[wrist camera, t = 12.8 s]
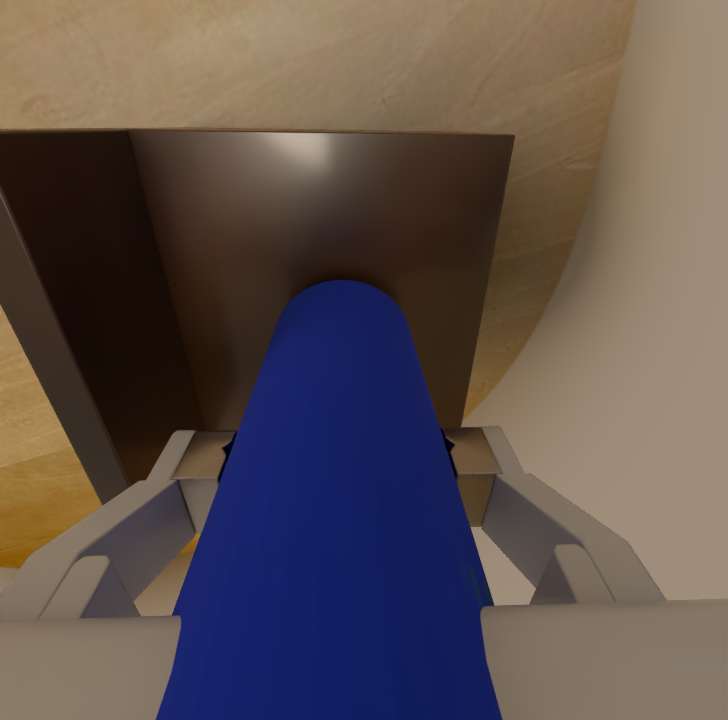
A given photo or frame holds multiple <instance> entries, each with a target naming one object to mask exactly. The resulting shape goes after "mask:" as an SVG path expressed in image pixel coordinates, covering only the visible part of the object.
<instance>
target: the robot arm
mask: <svg viewBox="0 0 728 720" xmlns="http://www.w3.org/2000/svg"><path fill="white" fill-rule="evenodd" d="M440 430H441V433H442V436H443V439H444V443H445V446H446V449H447V452H448V456H449V459H450V462H451V465H452V469H453V472H454V475H455V479H456V482H457V485H458V488H459V492H460V495H461V498H462V501H463V505H464V508H465V511H466V514H467V518H468V521H469V524H470V527H482V530H483V531H484V532H485V533H486V534H487V535H488V536H489V537H490V538H491V539H492V541H493V542H494V543H495V544H496V545H497V546H498V547H499V548H500V549H501V551H503V553H504V554H505V555H506V556H507V557H508V558H509V559H510V560H511V561H512V563H514V565H515V566H516V567H517V568H518V569H519V570H520V571H521V572H522V573H523V575H524V576H525V577H526V578H527V579H528V580H529V581H530V582H531V583H532V584H533V586H534V587H535V588H536V591H535V593H534V595H533V597H532V600H531V602H530V604H529V605H505V606H484V607H483V608H482V610H481V616H480V619H481V626H482V633H483V640H484V647H485V654H486V661H487V664H488V668H489V672H490V675H491V679H492V683H493V687H494V690H495V694H496V698H497V701H498V705H499V709H500V712H501V716H502V720H728V599H703V600H671V601H667V600H666V598H665V597H664V595H663V594H662V592H661V591H660V589H659V588H658V586H657V585H656V583H655V582H654V580H653V579H652V577H651V576H650V574H649V573H648V571H647V570H646V568H645V567H644V565H643V564H642V562H641V561H640V559H639V558H638V556H637V555H636V554H635V552H634V551H633V549H632V547H631V546H630V544H629V543H628V542H627V541H626V540H625V539H623V538H622V537H620V536H619V535H617V534H616V533H615V532H613V531H612V530H610V529H609V528H608V527H606V526H605V525H603V524H602V523H600V522H599V521H597V520H596V519H595V518H593V517H592V516H591V515H589V514H588V513H586V512H585V511H583V510H582V509H580V508H579V507H578V506H576V505H575V504H573V503H572V502H571V501H569V500H568V499H566V498H565V497H563V496H562V495H561V494H559V493H558V492H556V491H555V490H553V489H552V488H551V487H549V486H548V485H546V484H545V483H544V482H542V481H541V480H539V479H538V478H536V477H535V476H534V475H532V474H525V473H524V471H523V469H522V467H521V465H520V463H519V461H518V459H517V457H516V455H515V453H514V451H513V449H512V447H511V446H510V444H509V442H508V440H507V438H506V436H505V434H504V432H503V430H502V428H500V427H499V426H484V427H453V428H440ZM237 433H238V431H237V430H198V431H196V430H177V431H176V432H175V433H173V434H172V436H171V438H170V439H169V441H168V443H167V445H166V446H165V448H164V450H163V451H162V453H161V455H160V457H159V458H158V460H157V462H156V464H155V465H154V467H153V469H152V471H151V472H150V474H149V476H148V478H147V479H146V480H144V481H138V482H137V483H135V484H134V485H132V486H131V487H129V488H128V489H126V490H125V491H123V492H122V493H120V494H119V495H118V496H116V497H115V498H113V499H112V500H110V501H109V502H107V503H106V504H104V505H103V506H101V507H100V508H98V509H97V510H95V511H94V512H93V513H91V514H90V515H88V516H87V517H85V518H84V519H82V520H81V521H79V522H78V523H76V524H75V525H73V526H72V527H70V528H69V529H68V530H66V531H65V532H63V533H62V534H60V535H59V536H57V537H56V538H54V539H53V540H51V541H50V542H48V543H47V544H45V545H44V546H42V547H41V548H40V549H38V550H37V551H35V552H34V553H32V554H31V555H29V557H28V558H27V559H26V561H25V562H24V563H23V565H22V566H21V567H20V569H19V570H18V572H17V573H16V574H15V576H14V577H13V578H12V580H11V581H10V582H9V584H8V585H7V586H6V588H5V589H4V590H3V592H2V593H1V594H0V720H156V717H157V714H158V711H159V708H160V705H161V702H162V699H163V696H164V693H165V690H166V687H167V684H168V681H169V678H170V675H171V672H172V667H173V662H174V658H175V653H176V648H177V643H178V639H179V634H180V629H181V617H180V616H179V615H176V616H143V617H141V615H140V614H139V612H138V610H137V608H136V606H135V605H134V603H133V602H134V600H135V599H136V598H137V597H138V596H139V595H140V594H141V593H142V592H143V591H144V590H145V589H146V588H147V587H148V585H149V584H150V583H151V582H152V581H153V580H154V579H155V578H156V577H157V576H158V575H159V574H160V573H161V572H162V571H163V569H164V568H165V567H166V566H167V565H168V564H169V563H170V562H171V561H172V560H173V559H174V558H175V557H176V556H177V555H178V554H179V552H180V551H181V550H182V549H183V548H184V547H185V546H186V545H187V544H188V543H189V542H190V541H191V540H192V539H193V538H194V536H195V533H202V530H203V527H204V524H205V522H206V519H207V516H208V513H209V511H210V508H211V505H212V502H213V499H214V497H215V494H216V491H217V488H218V485H219V483H220V480H221V477H222V474H223V472H224V469H225V466H226V463H227V460H228V458H229V455H230V452H231V449H232V447H233V444H234V441H235V438H236V435H237Z"/></svg>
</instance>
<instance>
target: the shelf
mask: <svg viewBox="0 0 728 720" xmlns="http://www.w3.org/2000/svg"><path fill="white" fill-rule="evenodd" d="M514 140H515V135H512V134H492V133H472V132H442V131H376V130H310V129H244V128H65V129H0V305H1V307H2V308H3V310H4V312H5V314H6V316H7V318H8V320H9V322H10V324H11V326H12V328H13V330H14V332H15V334H16V336H17V338H18V340H19V342H20V344H21V346H22V348H23V350H24V352H25V354H26V356H27V358H28V360H29V362H30V364H31V366H32V368H33V370H34V372H35V374H36V376H37V378H38V379H39V381H40V383H41V385H42V387H43V389H44V391H45V393H46V395H47V397H48V399H49V401H50V403H51V405H52V407H53V409H54V411H55V413H56V415H57V417H58V419H59V421H60V423H61V425H62V427H63V429H64V431H65V433H66V435H67V437H68V439H69V441H70V443H71V445H72V447H73V449H74V450H75V452H76V454H77V456H78V458H79V460H80V462H81V464H82V466H83V468H84V470H85V472H86V474H87V476H88V478H89V480H90V482H91V484H92V486H93V488H94V490H95V492H96V494H97V496H98V498H99V500H100V502H101V504H102V506H103V505H104V504H106V503H107V502H109V501H110V500H112V499H113V498H115V497H116V496H118V495H119V494H120V493H122V492H123V491H125V490H126V489H128V488H129V487H131V486H132V485H134V484H135V483H137V482H138V481H144V480H146V479H147V478H148V476H149V474H150V472H151V471H152V469H153V467H154V465H155V464H156V462H157V460H158V458H159V457H160V455H161V453H162V451H163V450H164V448H165V446H166V445H167V443H168V441H169V439H170V438H171V436H172V434H173V433H175V432H176V431H177V430H196V431H198V430H237V431H238V430H239V427H240V424H241V421H242V419H243V416H244V413H245V410H246V408H247V405H248V402H249V399H250V396H251V394H252V391H253V388H254V385H255V383H256V380H257V377H258V374H259V371H260V369H261V366H262V363H263V360H264V357H265V355H266V352H267V349H268V346H269V344H270V341H271V338H272V335H273V332H274V330H275V327H276V324H277V321H278V319H279V317H280V315H281V313H282V311H283V310H284V308H285V307H286V306H287V304H288V303H289V302H290V301H291V300H292V299H293V298H294V297H295V296H296V295H298V294H299V293H301V292H302V291H304V290H305V289H307V288H309V287H311V286H314V285H316V284H320V283H323V282H327V281H334V280H351V281H357V282H362V283H365V284H368V285H371V286H373V287H375V288H377V289H379V290H381V291H382V292H384V293H385V294H386V295H388V296H389V297H390V298H391V299H392V300H393V301H394V302H395V303H396V304H397V305H398V306H399V308H400V309H401V310H402V312H403V313H404V315H405V318H406V320H407V322H408V325H409V328H410V332H411V335H412V338H413V341H414V345H415V348H416V351H417V354H418V358H419V361H420V364H421V367H422V371H423V374H424V377H425V381H426V384H427V387H428V390H429V394H430V397H431V400H432V403H433V407H434V410H435V413H436V416H437V420H438V423H439V426H440V428H453V427H461V424H462V419H463V414H464V408H465V403H466V398H467V392H468V387H469V381H470V376H471V371H472V365H473V360H474V355H475V349H476V344H477V339H478V333H479V328H480V322H481V317H482V312H483V306H484V301H485V296H486V290H487V285H488V279H489V274H490V269H491V263H492V258H493V253H494V247H495V242H496V236H497V231H498V226H499V220H500V215H501V210H502V204H503V199H504V194H505V188H506V183H507V177H508V172H509V167H510V161H511V156H512V151H513V145H514Z"/></svg>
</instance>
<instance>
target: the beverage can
mask: <svg viewBox="0 0 728 720" xmlns="http://www.w3.org/2000/svg"><path fill="white" fill-rule="evenodd" d="M484 606H494V603H493V599H492V596H491V593H490V590H489V586H488V583H487V580H486V577H485V574H484V570H483V567H482V564H481V561H480V557H479V554H478V550H477V547H476V544H475V541H474V537H473V534H472V531H471V528H470V524H469V521H468V518H467V514H466V511H465V508H464V505H463V501H462V498H461V495H460V492H459V488H458V485H457V482H456V479H455V475H454V472H453V469H452V465H451V462H450V459H449V456H448V452H447V449H446V446H445V443H444V439H443V436H442V433H441V430H440V426H439V423H438V420H437V416H436V413H435V410H434V407H433V403H432V400H431V397H430V394H429V390H428V387H427V384H426V381H425V377H424V374H423V371H422V367H421V364H420V361H419V358H418V354H417V351H416V348H415V345H414V341H413V338H412V335H411V332H410V328H409V325H408V322H407V320H406V318H405V315H404V313H403V312H402V310H401V309H400V308H399V306H398V305H397V304H396V303H395V302H394V301H393V300H392V299H391V298H390V297H389V296H388V295H386V294H385V293H384V292H382V291H381V290H379V289H377V288H375V287H373V286H371V285H368V284H365V283H362V282H357V281H351V280H334V281H327V282H323V283H320V284H316V285H314V286H311V287H309V288H307V289H305V290H304V291H302V292H301V293H299V294H298V295H296V296H295V297H294V298H293V299H292V300H291V301H290V302H289V303H288V304H287V306H286V307H285V308H284V310H283V311H282V313H281V315H280V317H279V319H278V321H277V324H276V327H275V330H274V332H273V335H272V338H271V341H270V344H269V346H268V349H267V352H266V355H265V357H264V360H263V363H262V366H261V369H260V371H259V374H258V377H257V380H256V383H255V385H254V388H253V391H252V394H251V396H250V399H249V402H248V405H247V408H246V410H245V413H244V416H243V419H242V421H241V424H240V427H239V430H238V433H237V435H236V438H235V441H234V444H233V447H232V449H231V452H230V455H229V458H228V460H227V463H226V466H225V469H224V472H223V474H222V477H221V480H220V483H219V485H218V488H217V491H216V494H215V497H214V499H213V502H212V505H211V508H210V511H209V513H208V516H207V519H206V522H205V524H204V527H203V530H202V533H201V536H200V538H199V541H198V544H197V547H196V550H195V552H194V555H193V558H192V561H191V563H190V566H189V569H188V572H187V575H186V577H185V580H184V583H183V586H182V588H181V591H180V594H179V597H178V600H177V603H176V605H175V608H174V611H173V614H172V616H176V615H179V616H180V617H181V629H180V634H179V639H178V643H177V648H176V653H175V658H174V662H173V667H172V672H171V675H170V678H169V681H168V684H167V687H166V690H165V693H164V696H163V699H162V702H161V705H160V708H159V711H158V714H157V717H156V720H502V716H501V712H500V709H499V705H498V701H497V698H496V694H495V690H494V687H493V683H492V679H491V675H490V672H489V668H488V664H487V661H486V654H485V647H484V640H483V633H482V626H481V619H480V616H481V610H482V608H483V607H484Z"/></svg>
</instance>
